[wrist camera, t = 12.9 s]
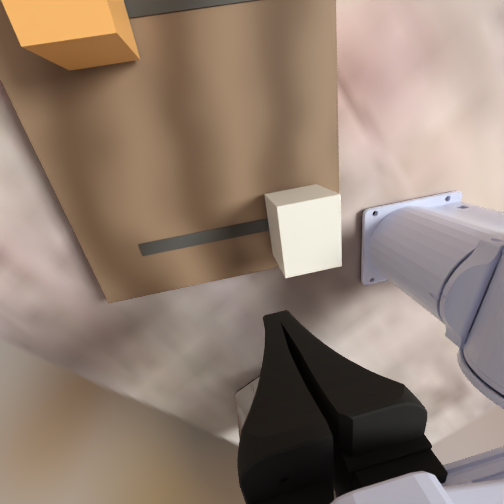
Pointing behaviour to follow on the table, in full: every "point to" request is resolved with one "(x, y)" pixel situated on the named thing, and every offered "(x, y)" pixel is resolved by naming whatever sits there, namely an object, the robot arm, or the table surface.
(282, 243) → the white fader
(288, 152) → the console
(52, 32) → the orange fader
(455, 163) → the table surface
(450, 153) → the table surface
